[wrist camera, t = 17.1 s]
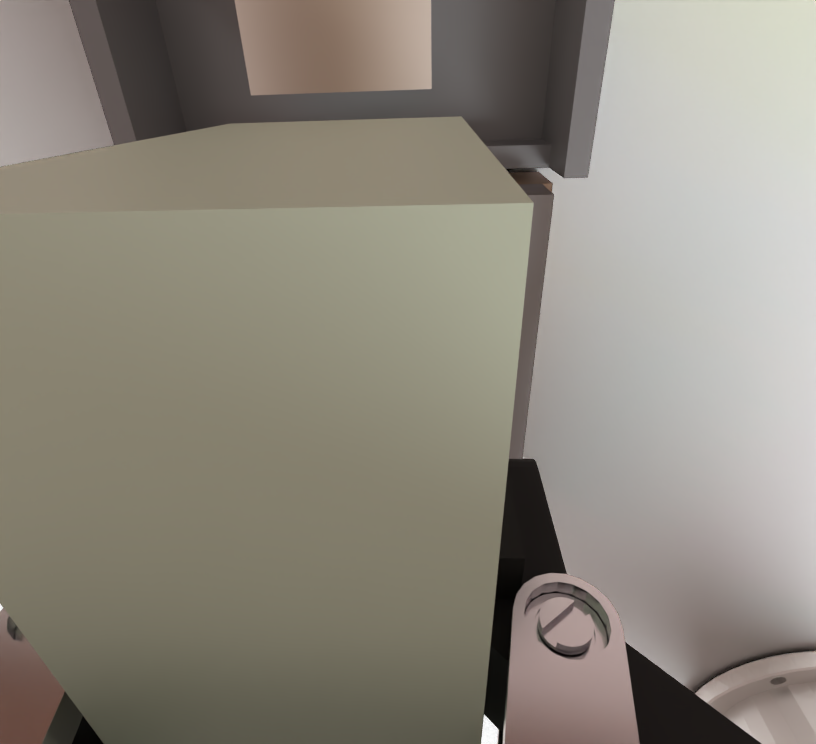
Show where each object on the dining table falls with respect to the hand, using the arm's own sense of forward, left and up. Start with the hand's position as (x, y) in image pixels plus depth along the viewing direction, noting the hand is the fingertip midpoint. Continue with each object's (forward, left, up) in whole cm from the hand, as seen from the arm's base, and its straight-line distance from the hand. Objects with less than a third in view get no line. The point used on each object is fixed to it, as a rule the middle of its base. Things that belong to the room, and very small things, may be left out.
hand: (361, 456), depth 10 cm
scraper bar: (0, 0, -1) cm, 2 cm away
